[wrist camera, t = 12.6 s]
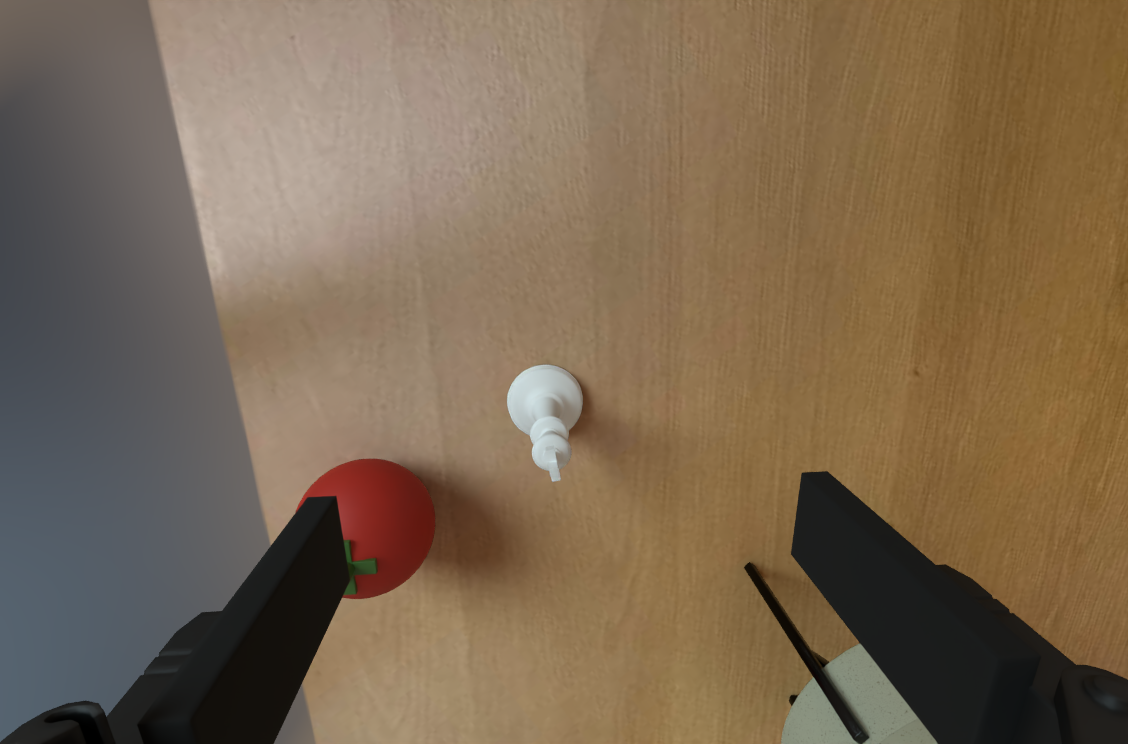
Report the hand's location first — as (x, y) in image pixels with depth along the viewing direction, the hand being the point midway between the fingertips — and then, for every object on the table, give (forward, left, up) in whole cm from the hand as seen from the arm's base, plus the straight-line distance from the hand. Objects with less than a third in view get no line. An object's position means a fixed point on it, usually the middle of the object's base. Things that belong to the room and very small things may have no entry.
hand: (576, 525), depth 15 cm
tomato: (+9, -11, -19) cm, 24 cm away
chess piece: (+3, 0, -20) cm, 20 cm away
